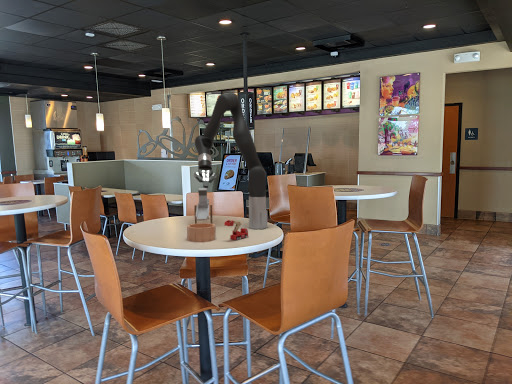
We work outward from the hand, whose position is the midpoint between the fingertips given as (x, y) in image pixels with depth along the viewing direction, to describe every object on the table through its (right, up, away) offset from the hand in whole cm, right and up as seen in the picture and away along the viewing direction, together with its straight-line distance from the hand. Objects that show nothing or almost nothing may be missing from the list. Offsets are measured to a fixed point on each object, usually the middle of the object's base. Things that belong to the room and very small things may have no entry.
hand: (205, 187), depth 204 cm
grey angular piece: (0, -13, -7) cm, 15 cm away
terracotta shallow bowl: (+1, -25, -21) cm, 32 cm away
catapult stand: (0, -23, -5) cm, 24 cm away
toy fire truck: (+18, -25, -22) cm, 38 cm away
